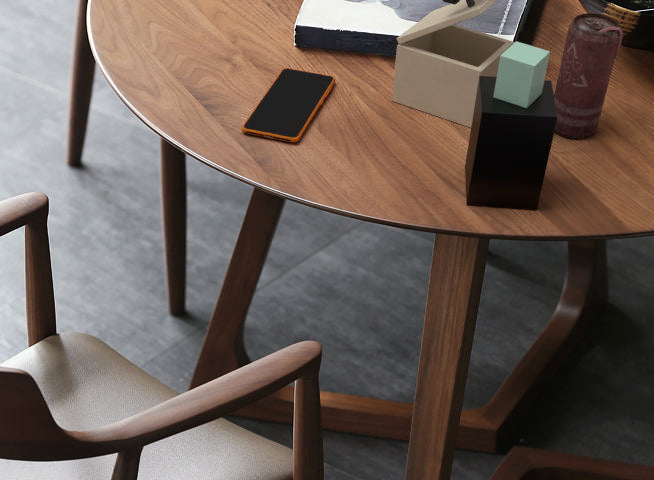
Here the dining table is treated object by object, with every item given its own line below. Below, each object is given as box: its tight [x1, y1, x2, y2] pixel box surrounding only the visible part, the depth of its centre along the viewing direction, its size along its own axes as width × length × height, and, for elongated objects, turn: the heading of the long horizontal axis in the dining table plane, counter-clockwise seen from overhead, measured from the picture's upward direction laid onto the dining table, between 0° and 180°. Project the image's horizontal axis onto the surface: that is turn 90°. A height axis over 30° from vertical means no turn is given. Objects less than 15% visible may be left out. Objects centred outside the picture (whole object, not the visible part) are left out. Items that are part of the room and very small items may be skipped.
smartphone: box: [241, 67, 336, 143], centre depth 137 cm, size 8×17×1 cm, turn 162°
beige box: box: [391, 24, 515, 129], centre depth 138 cm, size 12×10×8 cm
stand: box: [464, 76, 557, 211], centre depth 121 cm, size 8×8×12 cm
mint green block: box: [493, 40, 551, 108], centre depth 116 cm, size 4×4×5 cm
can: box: [553, 12, 623, 140], centre depth 131 cm, size 6×6×14 cm
